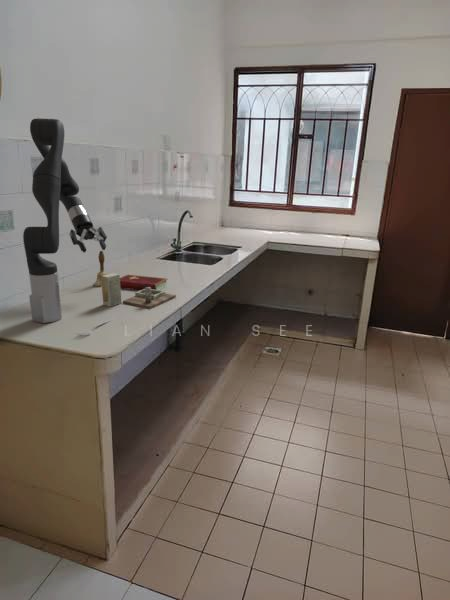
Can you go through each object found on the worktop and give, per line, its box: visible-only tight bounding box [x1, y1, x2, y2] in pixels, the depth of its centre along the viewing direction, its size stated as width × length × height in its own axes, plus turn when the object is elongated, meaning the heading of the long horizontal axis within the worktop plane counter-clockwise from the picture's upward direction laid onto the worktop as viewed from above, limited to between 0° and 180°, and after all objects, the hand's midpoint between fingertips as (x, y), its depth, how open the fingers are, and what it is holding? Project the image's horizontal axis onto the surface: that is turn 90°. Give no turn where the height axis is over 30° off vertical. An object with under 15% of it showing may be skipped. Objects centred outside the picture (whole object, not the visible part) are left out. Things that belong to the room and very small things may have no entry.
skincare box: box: [101, 272, 123, 307], centre depth 170 cm, size 6×4×12 cm
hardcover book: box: [120, 273, 168, 291], centre depth 197 cm, size 12×21×4 cm, turn 72°
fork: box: [75, 316, 117, 336], centre depth 148 cm, size 3×24×2 cm, turn 163°
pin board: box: [122, 287, 177, 309], centre depth 177 cm, size 18×14×7 cm
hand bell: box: [93, 250, 108, 287], centre depth 198 cm, size 8×8×16 cm
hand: (94, 250), depth 174 cm, fingers open, 8 cm apart
